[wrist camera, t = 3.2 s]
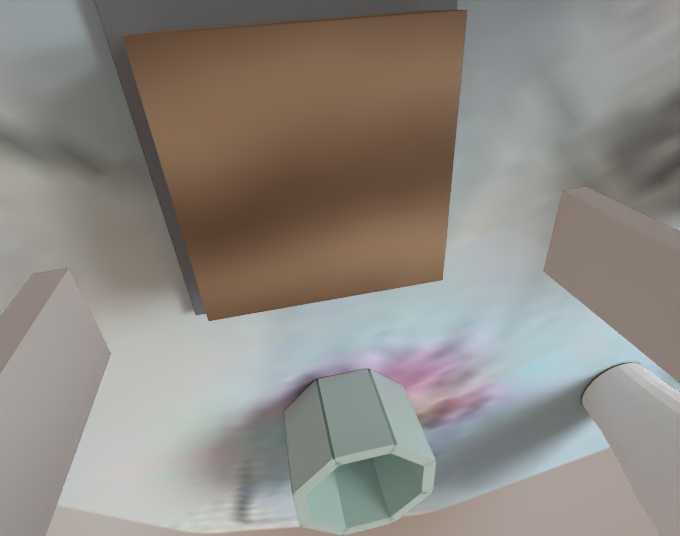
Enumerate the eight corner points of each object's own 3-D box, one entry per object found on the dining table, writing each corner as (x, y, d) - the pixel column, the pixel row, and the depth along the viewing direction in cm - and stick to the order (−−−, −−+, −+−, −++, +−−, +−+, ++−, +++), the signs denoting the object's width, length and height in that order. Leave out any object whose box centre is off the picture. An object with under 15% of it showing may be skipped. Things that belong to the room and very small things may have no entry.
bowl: (277, 386, 28) (286, 469, 23) (404, 361, 29) (439, 433, 24) (293, 463, 33) (303, 545, 28) (402, 439, 34) (430, 512, 29)
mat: (83, -48, 14) (77, -50, 14) (455, -67, 16) (462, -69, 16) (196, 308, 23) (195, 315, 23) (431, 268, 25) (435, 273, 25)
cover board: (147, 31, 16) (122, 36, 12) (422, 10, 17) (467, 10, 14) (213, 273, 21) (208, 321, 18) (413, 241, 23) (442, 279, 20)
